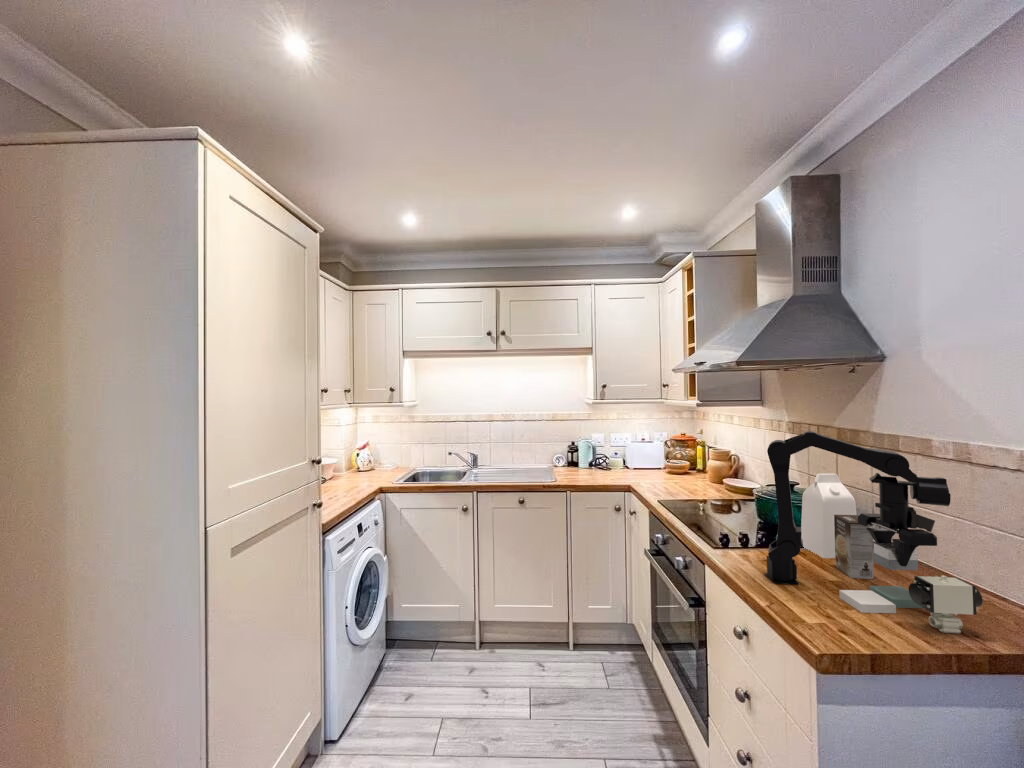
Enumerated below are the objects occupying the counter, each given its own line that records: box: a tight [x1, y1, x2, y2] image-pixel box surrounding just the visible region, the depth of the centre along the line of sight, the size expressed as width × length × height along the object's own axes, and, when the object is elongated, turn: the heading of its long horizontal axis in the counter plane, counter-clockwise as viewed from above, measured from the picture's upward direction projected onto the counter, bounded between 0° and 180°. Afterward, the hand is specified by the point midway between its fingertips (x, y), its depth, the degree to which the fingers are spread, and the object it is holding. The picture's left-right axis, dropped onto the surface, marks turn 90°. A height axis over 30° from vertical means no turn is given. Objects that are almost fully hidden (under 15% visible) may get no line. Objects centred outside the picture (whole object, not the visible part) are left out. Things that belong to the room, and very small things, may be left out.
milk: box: [800, 473, 858, 559], centre depth 150 cm, size 12×12×26 cm
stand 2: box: [868, 585, 924, 609], centre depth 115 cm, size 8×8×2 cm
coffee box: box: [834, 515, 875, 580], centre depth 133 cm, size 9×6×16 cm
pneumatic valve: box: [908, 575, 984, 635], centre depth 101 cm, size 6×12×12 cm, turn 82°
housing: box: [873, 541, 919, 571], centre depth 115 cm, size 5×7×6 cm
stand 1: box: [838, 589, 897, 614], centre depth 112 cm, size 8×8×2 cm
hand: (895, 562), depth 115 cm, fingers closed on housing, 5 cm apart
